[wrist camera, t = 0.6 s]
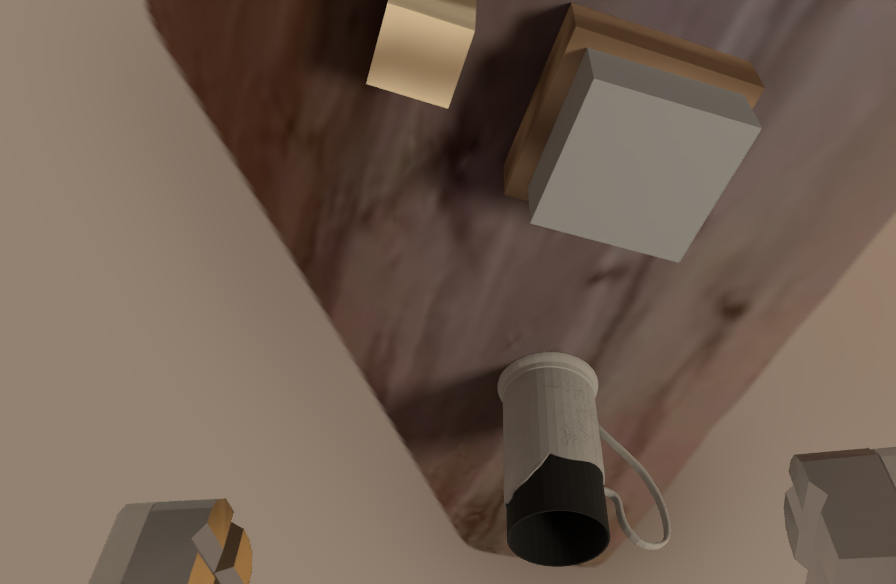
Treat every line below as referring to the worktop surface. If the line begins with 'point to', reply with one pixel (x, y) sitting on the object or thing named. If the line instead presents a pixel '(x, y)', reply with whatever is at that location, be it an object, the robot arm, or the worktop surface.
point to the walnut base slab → (619, 41)
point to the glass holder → (559, 463)
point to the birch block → (423, 48)
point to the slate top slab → (639, 156)
